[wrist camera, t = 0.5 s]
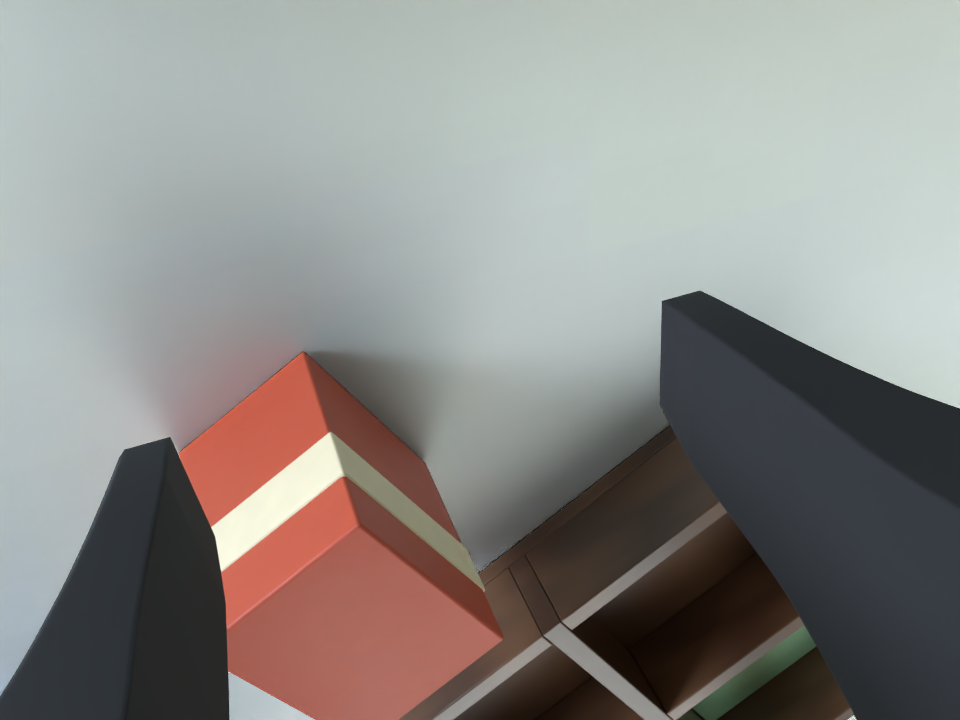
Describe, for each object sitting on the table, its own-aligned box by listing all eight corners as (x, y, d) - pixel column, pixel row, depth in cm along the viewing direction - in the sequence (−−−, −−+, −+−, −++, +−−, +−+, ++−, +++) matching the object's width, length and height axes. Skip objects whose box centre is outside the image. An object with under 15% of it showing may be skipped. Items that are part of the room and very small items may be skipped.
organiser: (556, 826, 40) (589, 906, 37) (325, 690, 31) (346, 783, 28) (848, 611, 39) (906, 677, 36) (703, 398, 29) (766, 465, 26)
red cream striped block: (313, 552, 27) (363, 750, 22) (174, 452, 24) (190, 655, 18) (428, 462, 27) (509, 639, 21) (303, 347, 23) (360, 520, 18)
